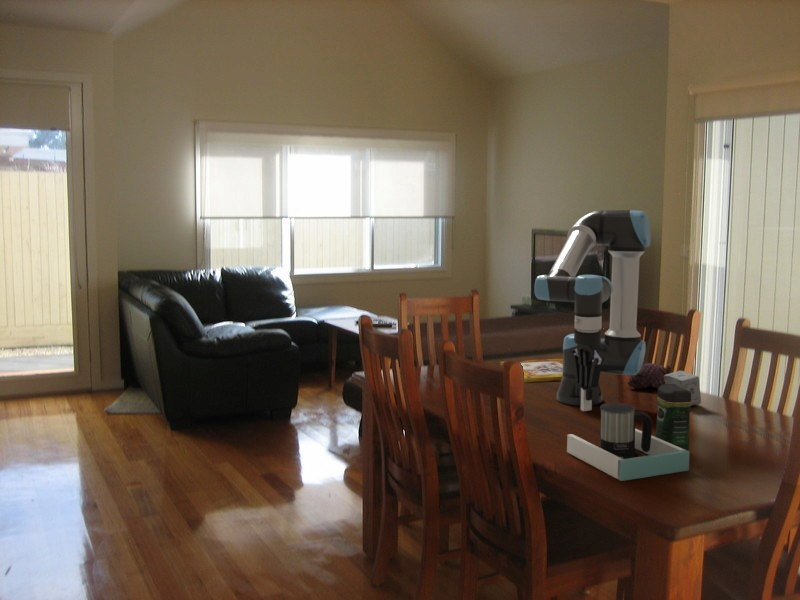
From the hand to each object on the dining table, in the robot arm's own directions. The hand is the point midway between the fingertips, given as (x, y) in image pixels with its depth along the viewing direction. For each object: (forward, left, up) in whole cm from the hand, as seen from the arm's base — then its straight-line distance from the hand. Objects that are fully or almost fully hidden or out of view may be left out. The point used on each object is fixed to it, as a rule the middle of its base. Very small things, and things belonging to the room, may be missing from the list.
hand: (586, 409), depth 244 cm
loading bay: (+20, -1, -9) cm, 22 cm away
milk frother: (+16, 0, -9) cm, 18 cm away
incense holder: (-21, +52, -9) cm, 57 cm away
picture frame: (-80, +35, -10) cm, 88 cm away
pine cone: (-44, +57, -9) cm, 72 cm away
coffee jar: (+18, +16, -9) cm, 26 cm away
